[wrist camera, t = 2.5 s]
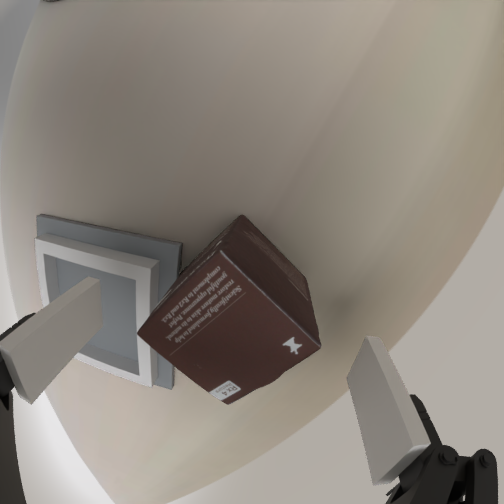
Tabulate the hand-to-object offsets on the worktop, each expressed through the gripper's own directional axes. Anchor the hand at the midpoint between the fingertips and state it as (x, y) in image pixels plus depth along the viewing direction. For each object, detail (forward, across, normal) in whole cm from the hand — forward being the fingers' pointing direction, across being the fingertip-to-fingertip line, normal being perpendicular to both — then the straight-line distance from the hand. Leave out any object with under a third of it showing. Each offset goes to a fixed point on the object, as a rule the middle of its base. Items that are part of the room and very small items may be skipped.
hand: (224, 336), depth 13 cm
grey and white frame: (+6, -11, -4) cm, 13 cm away
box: (+6, 0, 0) cm, 6 cm away
